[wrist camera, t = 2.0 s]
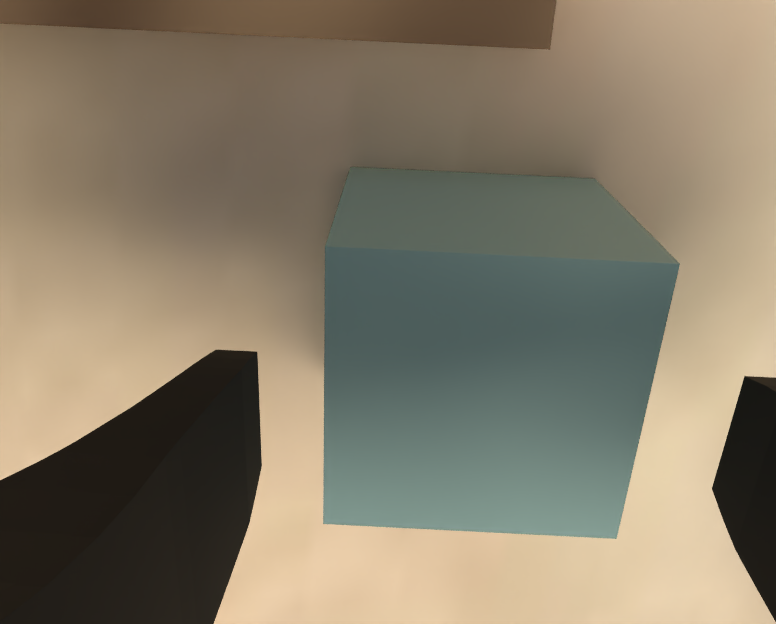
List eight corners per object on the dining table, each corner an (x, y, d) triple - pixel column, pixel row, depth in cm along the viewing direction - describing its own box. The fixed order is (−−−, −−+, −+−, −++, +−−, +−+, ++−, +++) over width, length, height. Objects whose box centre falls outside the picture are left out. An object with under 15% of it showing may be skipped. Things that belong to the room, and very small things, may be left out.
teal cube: (346, 377, 17) (323, 523, 12) (350, 166, 14) (324, 246, 10) (558, 388, 17) (616, 539, 12) (593, 177, 14) (680, 264, 10)
